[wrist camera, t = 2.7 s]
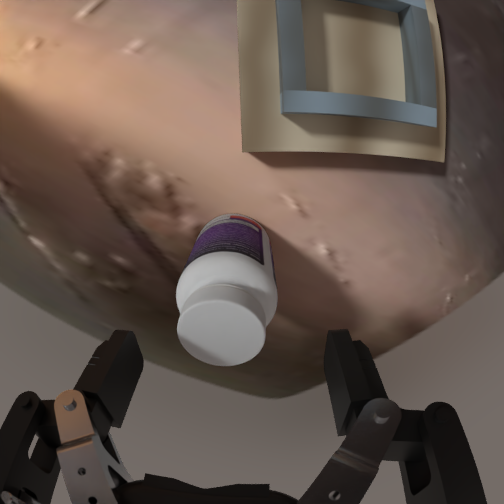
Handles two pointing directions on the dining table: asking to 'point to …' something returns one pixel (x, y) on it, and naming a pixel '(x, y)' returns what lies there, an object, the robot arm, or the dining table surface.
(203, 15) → the dining table surface
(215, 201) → the dining table surface
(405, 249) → the dining table surface
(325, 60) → the maple plinth
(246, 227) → the pill bottle
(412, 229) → the dining table surface
